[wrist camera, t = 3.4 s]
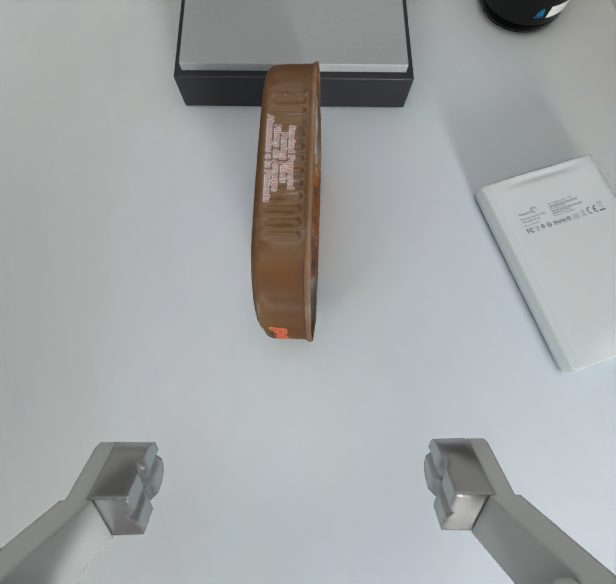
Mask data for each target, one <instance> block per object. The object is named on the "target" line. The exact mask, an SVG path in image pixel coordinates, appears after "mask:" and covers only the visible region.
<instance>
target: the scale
mask: <svg viewBox="0 0 616 584" xmlns="http://www.w3.org/2000/svg"><path fill="white" fill-rule="evenodd" d="M316 61H318V62H319V66H320V106H368V107H403V106H404V103H405V101H406V98H407V95H408V93H409V90H410V88H411V85H412V82H413V80H414V77H413V67H412V57H411V47H410V37H409V27H408V17H407V7H406V0H182V2H181V12H180V22H179V32H178V42H177V51H176V61H175V71H174V78H175V81H176V83H177V85H178V88H179V90H180V92H181V95H182V97H183V99H184V102H185V104H186V105H236V106H262V97H263V88H264V83H265V78H266V75H267V72H268V70H269V69H270V68H271V67H272V66H275V65H280V64H312V63H314V62H316Z"/></svg>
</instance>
